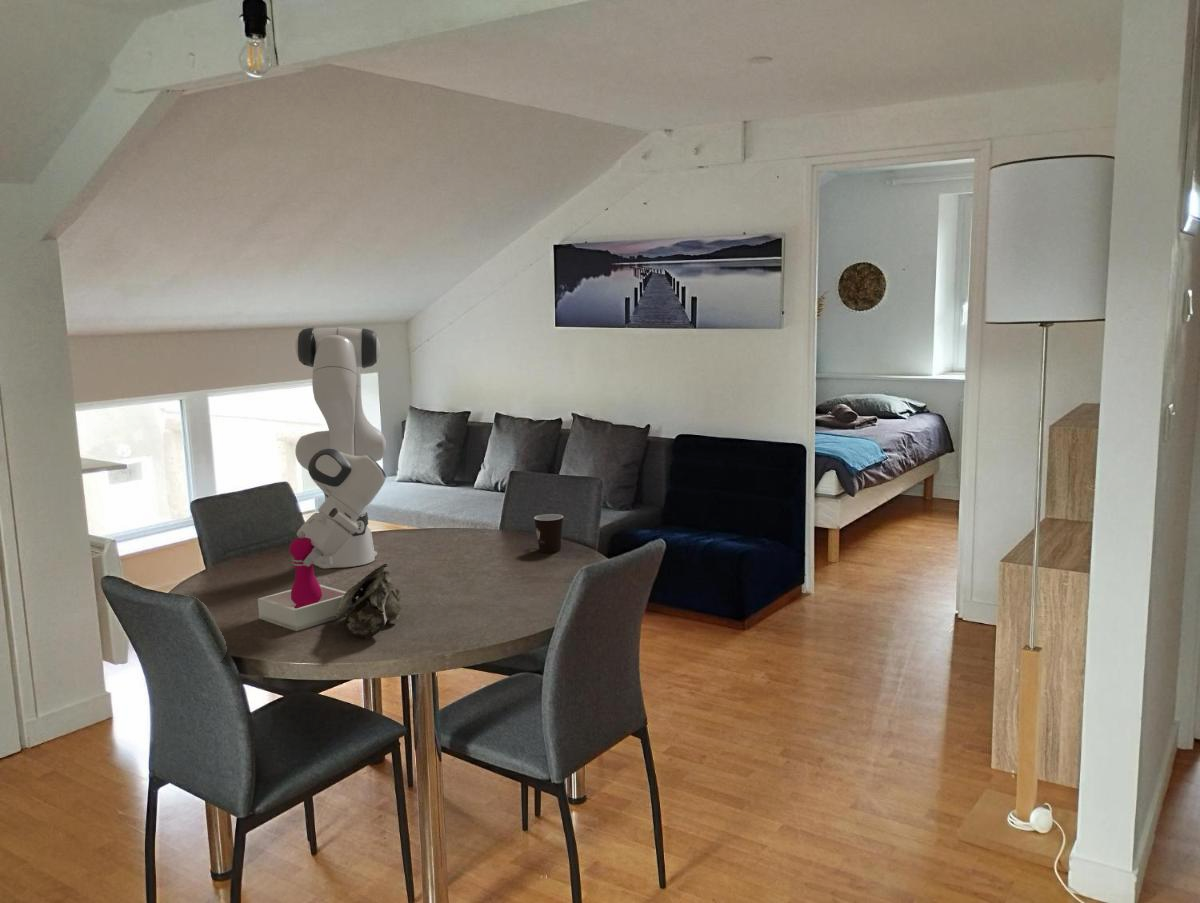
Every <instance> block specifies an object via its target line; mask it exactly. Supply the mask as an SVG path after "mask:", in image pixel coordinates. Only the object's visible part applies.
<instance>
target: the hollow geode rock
mask: <svg viewBox="0 0 1200 903" xmlns="http://www.w3.org/2000/svg"><path fill="white" fill-rule="evenodd" d="M388 566H389V563H384V564H382V565H381V566H379V567H378V568H375V569H374V570H373V571H371V572H370V573H369V574H367V575H366V576H364V578H362V579H361V580H360V581H358V582H357V584H355V585H353V586H352V587H351V588H349V589H348V590H347V591H345V592H346V593H345V594H344V596H342V599H341V601H340V603H339V605H340V606H339V608H338V610H337V611H338V612H337V613H336V614H335V615H334V616H335V617H339V618H338V619H342V618H344V616H345V614H347V616H345V617H346V618H345V625H346V629H347V631H348V632H349V633H350V634H352V635H354V636H357V637H360V638H363V639H365V640H368V639H372V638H373V637H374V636H375V635H377V634H378V633H380V632H381V631H383V630H384V629H385V626H386V623H387V622H388V621H395V620H398V619H399V618H400V616H401V614H400V612H401V610H402V607H401V603H402V601H403V595H402V592H401V591H400V589H399V588H397V587H396V586H395V585H394V584H393V583H391V580H392V575H391V573H390V572H389V571H386V570H385V568H388Z"/></svg>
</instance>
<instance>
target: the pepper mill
mask: <svg viewBox="0 0 1200 903" xmlns="http://www.w3.org/2000/svg"><path fill="white" fill-rule="evenodd" d="M314 547H315V546H313V545H312V544H311V539H309V538H306V537H305V533H304V532H302V531H300V532H299V533H298V536H297V538H295V539H294V540H292V541H291V543H290V544H289V554H290V555H291V556H292V557H293V558H292V566H294V568H295V576H294V577H295V578H294V582H293V585H292V588H291V589H290V590H291V600H292V601H293V602H294V603H295V604H296V606H295V607H294V608H300V607H303V606H307V605H310V604H314V603H317V602H319V600H320V599H321V597H322V590H321V587H320V585H321V584H320V585H319V581H318V580H317V578H316V576H315V573H314V564H313V563H314V562H315V561H313V562H312V564H311V565H310V566H306V565H305V564H303V563H302V560H303V559H304V558H305V556H308V555H309V554H310V553H311V552H312V549H313V548H314Z"/></svg>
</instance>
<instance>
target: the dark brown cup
mask: <svg viewBox="0 0 1200 903" xmlns="http://www.w3.org/2000/svg"><path fill="white" fill-rule="evenodd" d="M533 518H534V519H533V521H534V525H535V532H536V538H537V543H538V550H539V552H540V553H544V554H545V553H548V554H552V553H557V552H560V551H561V549H562V538H563V537H562V536H563V524H564V515H562V514H559V513H558V514H557V513H556V514H555V513H547V514H540V515H535V516H534V517H533Z"/></svg>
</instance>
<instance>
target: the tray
mask: <svg viewBox="0 0 1200 903" xmlns="http://www.w3.org/2000/svg"><path fill="white" fill-rule="evenodd" d="M319 585H320V587H321V590H322V597H321V599H320V600H319V602H317V603H314V604H310V605H307V606H303V607H300V608H294V607H295V606H296V604H295V603H294V602H293V601H292V600H291V590H292V589H288V590H284V591H281V592H278V593H277V592H276V593H274V594H270V595H266V596H263V597H259V598H257V606H258V616H259V617H258V618H259V620H262V621H264V622H268V623H271V624H273V625H277V626H280V627H283V628H285V629H289V630H291V631H294V632H299V631H301V630H305V629H308V628H312V627H315V626H318V625H321V624H324V623H327V622H332V621H334V620H338V619H340V618H339V617H335V616H334V615H335V614H336V613H337V612H338V611H337V610H338V608H339V606H340V605H339V603H340V601H341V599H342V596H344V594H345V593H346V592H347V591H344V590H342V589H337V588H335V587H330V586H326V585H324V584H321V583H320V584H319ZM344 617H347V614H345V616H344ZM344 617H343V618H344Z"/></svg>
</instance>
